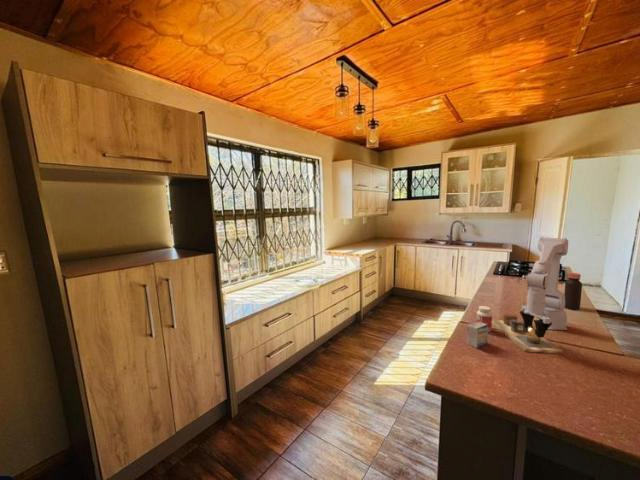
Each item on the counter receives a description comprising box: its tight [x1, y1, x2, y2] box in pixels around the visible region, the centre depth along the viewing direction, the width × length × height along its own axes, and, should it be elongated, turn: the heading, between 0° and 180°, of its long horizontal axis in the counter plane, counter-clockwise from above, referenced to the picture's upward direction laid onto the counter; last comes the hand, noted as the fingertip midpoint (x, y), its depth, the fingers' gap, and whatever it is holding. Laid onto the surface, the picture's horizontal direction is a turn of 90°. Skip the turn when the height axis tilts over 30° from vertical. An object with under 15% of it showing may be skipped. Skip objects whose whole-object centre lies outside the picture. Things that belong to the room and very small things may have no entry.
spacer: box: [527, 325, 541, 344], centre depth 110 cm, size 4×4×6 cm
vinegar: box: [563, 272, 583, 311], centre depth 146 cm, size 7×7×20 cm
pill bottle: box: [476, 305, 493, 333], centre depth 124 cm, size 6×6×11 cm
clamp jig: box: [492, 319, 564, 354], centre depth 118 cm, size 14×28×5 cm, turn 172°
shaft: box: [503, 314, 523, 330], centre depth 123 cm, size 5×9×4 cm, turn 172°
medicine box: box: [466, 321, 489, 349], centre depth 112 cm, size 8×4×9 cm, turn 117°
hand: (533, 332), depth 110 cm, fingers open, 7 cm apart
